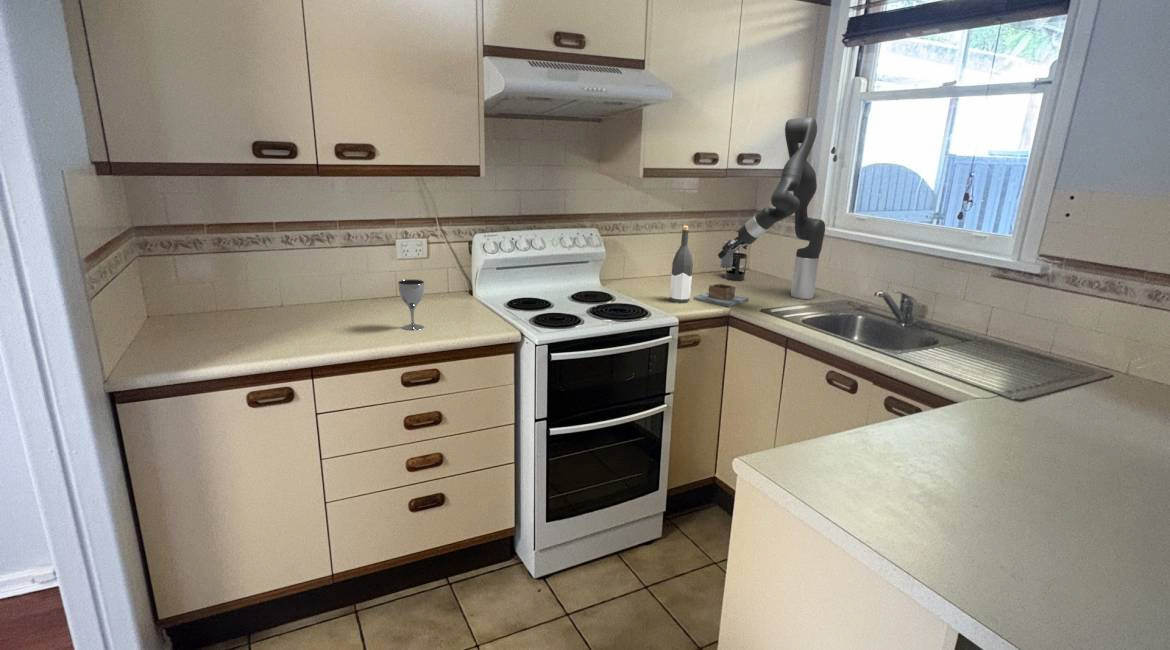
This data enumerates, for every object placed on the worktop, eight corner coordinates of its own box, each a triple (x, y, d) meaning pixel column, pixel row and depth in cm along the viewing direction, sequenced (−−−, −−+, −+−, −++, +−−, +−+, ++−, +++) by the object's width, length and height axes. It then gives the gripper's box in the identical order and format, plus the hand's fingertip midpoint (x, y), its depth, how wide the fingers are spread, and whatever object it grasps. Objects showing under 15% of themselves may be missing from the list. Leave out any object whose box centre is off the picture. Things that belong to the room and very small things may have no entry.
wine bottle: (688, 298, 257) (694, 225, 249) (690, 303, 250) (697, 227, 241) (668, 297, 258) (674, 224, 249) (670, 302, 250) (676, 227, 241)
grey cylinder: (723, 265, 256) (726, 241, 253) (733, 267, 253) (736, 242, 251) (718, 266, 253) (720, 242, 250) (727, 268, 250) (730, 243, 247)
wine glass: (395, 326, 204) (393, 281, 200) (416, 322, 210) (415, 278, 206) (408, 332, 199) (407, 285, 195) (430, 327, 205) (429, 282, 200)
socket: (714, 293, 268) (715, 280, 267) (748, 300, 258) (749, 287, 256) (693, 299, 257) (694, 285, 256) (727, 307, 247) (729, 292, 245)
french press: (746, 282, 294) (752, 232, 288) (726, 280, 295) (731, 231, 289) (742, 276, 306) (747, 229, 299) (722, 275, 306) (727, 228, 300)
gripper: (756, 220, 248) (726, 247, 259) (738, 223, 238) (707, 250, 249) (767, 236, 246) (736, 261, 257) (749, 239, 236) (718, 265, 247)
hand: (722, 256), depth 253 cm, fingers closed on grey cylinder, 4 cm apart
